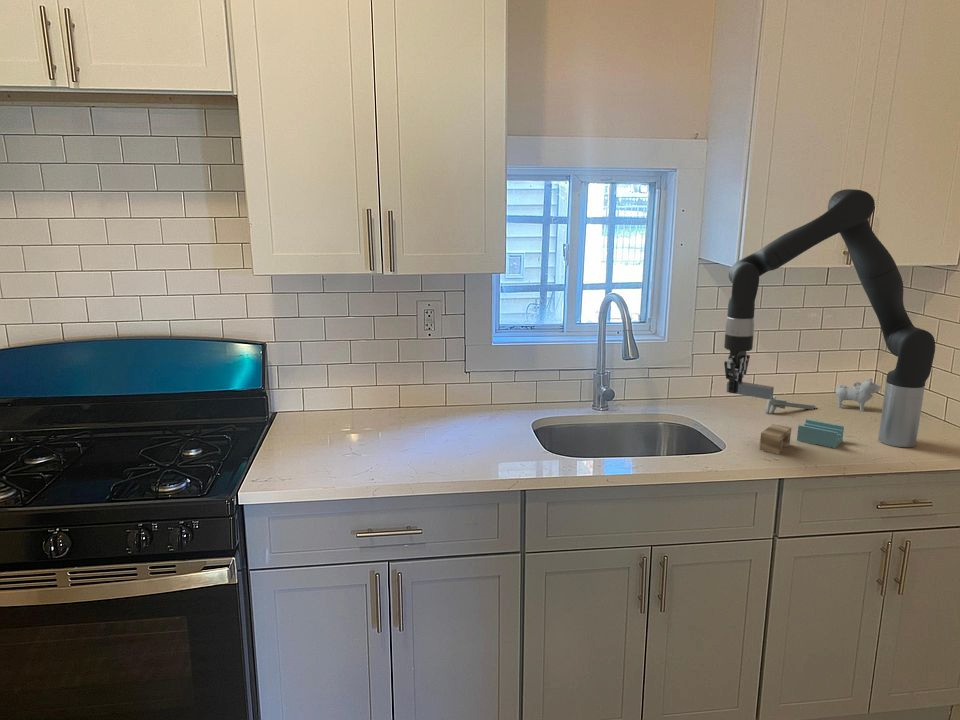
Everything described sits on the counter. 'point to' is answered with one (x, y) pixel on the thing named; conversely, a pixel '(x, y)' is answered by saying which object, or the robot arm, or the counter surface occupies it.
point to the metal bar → (753, 390)
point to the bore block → (775, 438)
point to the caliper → (783, 403)
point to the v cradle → (820, 433)
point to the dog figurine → (857, 393)
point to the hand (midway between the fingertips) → (735, 391)
